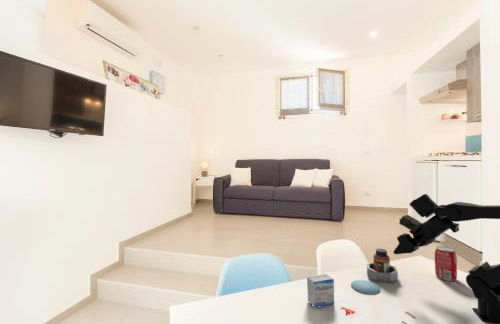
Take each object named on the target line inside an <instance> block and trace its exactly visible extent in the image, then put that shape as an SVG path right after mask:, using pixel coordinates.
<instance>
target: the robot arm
mask: <svg viewBox="0 0 500 324" xmlns="http://www.w3.org/2000/svg"><path fill="white" fill-rule="evenodd" d="M409 207H410V208H412V209H413V210H414V211H415V212H416V213H417V214H418V215H419V216H420V217H421V218H424V217H425V218H426V219H427V220H425V221H424V222H421V221H419V220H418V219H416V218H415V217H412V216H410V215H409V214H404V215H402V217H401V218H399V219H398V220H399V223H398V224H399V225H400V226H403V227H404V228H406V229H407V230H409V231H408V232H409V233H410V234H409V233H406V232H405V233H402V234H400V235H399V236H397V237H396V239H397V241H398V245H397V246H396V247H395V248H394V250H393V254H394V255H403V254H412V253H414V252H416V251H418V250H419V249H420V248H421V247H425V246H426V247H427V246H429V245H431V244H432V243H434V242H436V240H437V238H438V237H441V235H443V233H445V232H447V231H449V230H451V232H452V233H457V232H459V231H460V227H459V226H460V223H458V222H467V221H473V220H479V219H488V220H500V205H498V204H497V205H492V204H491V205H485V204H484V205H481V204H475V203H470V202H461V201H456V202H452V203H448V204H441V205H438V204H437V203H436V202H435V201H434V200H432V198H431V197H430V196H429V195H428V194H427V193H424V194H422V195H421V196H419V197H417V198H416V199H413V200H412V201H411V202H409ZM411 235H412V236H411ZM465 282H466V284H467V286H468V287H469V288H470V289H471V291H472V292H473V295H474V298H475V299H477V300H476V301H477V307H472V310H473V312H474V313H475V315H476V316H478V318H479V319H480V320H481V321H482V322H484V323H491V324H500V263H499V264H493V265H490V264H489V262H488V261H485V262H484V263H482V264H481V265H475V266H474V267H472V268H471V269H469V271H468V274H467V275H466V277H465Z"/></svg>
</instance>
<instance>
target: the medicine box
mask: <svg viewBox="0 0 500 324" xmlns="http://www.w3.org/2000/svg"><path fill="white" fill-rule="evenodd" d="M306 280H307V281H306V284H307V285H306V286H307V289H306V290H307V302H308V301H309V302H310V303H311V304H312V305H313V306H314V307H318V308H320V307H319V306H323V307H326V305H327V306H331V304H332V305H335V281H334V278H333V277H331V276H330V275H328V274H321V275H320V274H319V275H314V276H308V277H306ZM309 302H308V303H309ZM310 303H309V304H310ZM311 304H310V305H311ZM312 305H311V306H312ZM313 306H312V307H313ZM314 307H313V308H314Z"/></svg>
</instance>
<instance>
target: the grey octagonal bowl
mask: <svg viewBox="0 0 500 324" xmlns="http://www.w3.org/2000/svg"><path fill="white" fill-rule="evenodd" d="M366 276H367V279H369V280H372V281H373V282H375V283H379V284H387V285H391V284H395V283H398V282H399V279H398V277H399V273H398V269H397V267H396V266H394V265H391V264H390V273H385V272H377V271H375V270H374V261H372V262H368V263H366Z"/></svg>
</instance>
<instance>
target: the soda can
mask: <svg viewBox="0 0 500 324" xmlns="http://www.w3.org/2000/svg"><path fill="white" fill-rule="evenodd" d="M457 261H458V259H457V253H456V251H455V249H454V248H452V247H449V246H444V245H441V246H440V245H439V246H436V248H435V250H434V273H435V276H436V277H437V278H439V279H441V280H443V281H447V282H453V281H456V280H457V277H458V262H457Z"/></svg>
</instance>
